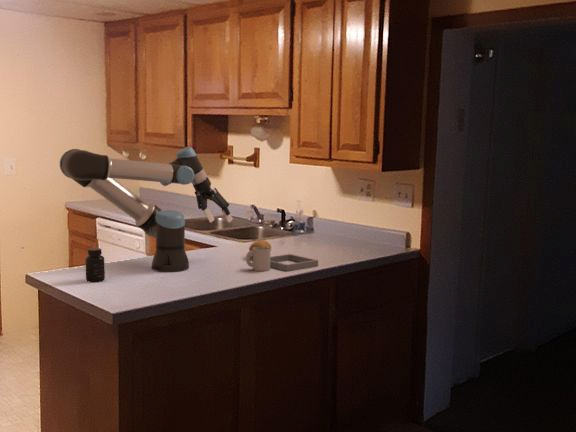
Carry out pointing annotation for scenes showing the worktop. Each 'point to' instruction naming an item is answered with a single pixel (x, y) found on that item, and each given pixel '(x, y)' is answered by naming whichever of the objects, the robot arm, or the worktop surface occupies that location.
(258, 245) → the potato
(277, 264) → the tray
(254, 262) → the cup
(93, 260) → the supplement bottle
